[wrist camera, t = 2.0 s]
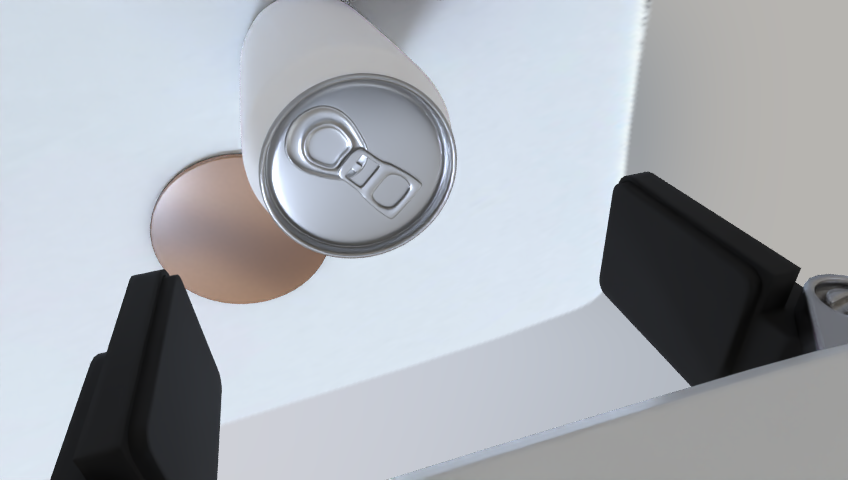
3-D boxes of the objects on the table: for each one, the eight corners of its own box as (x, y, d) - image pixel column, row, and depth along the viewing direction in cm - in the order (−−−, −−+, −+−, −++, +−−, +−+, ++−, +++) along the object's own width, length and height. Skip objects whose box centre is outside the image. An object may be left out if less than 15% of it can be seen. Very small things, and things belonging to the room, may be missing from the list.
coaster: (122, 171, 24) (121, 175, 24) (315, 139, 26) (316, 142, 26) (183, 315, 29) (183, 320, 29) (341, 279, 31) (343, 283, 31)
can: (296, -44, 22) (344, -3, 12) (407, 57, 25) (513, 151, 16) (210, 78, 23) (190, 203, 13) (326, 157, 27) (376, 301, 17)
